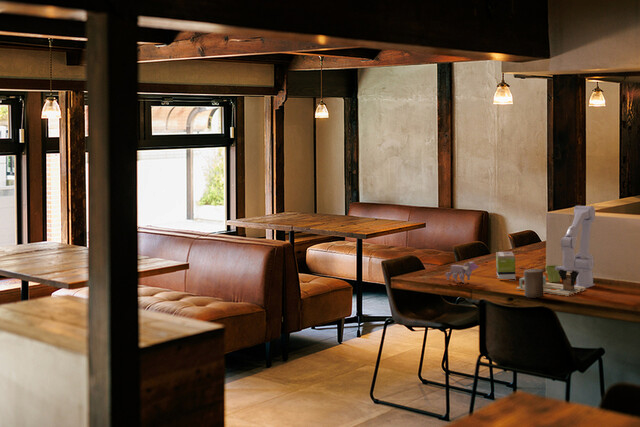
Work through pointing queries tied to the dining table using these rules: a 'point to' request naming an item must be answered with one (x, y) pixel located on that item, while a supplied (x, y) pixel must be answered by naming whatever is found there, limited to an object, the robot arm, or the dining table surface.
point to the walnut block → (567, 284)
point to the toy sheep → (461, 271)
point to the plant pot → (553, 273)
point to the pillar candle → (533, 283)
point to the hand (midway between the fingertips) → (568, 284)
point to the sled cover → (523, 279)
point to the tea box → (505, 265)
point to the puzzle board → (557, 289)
